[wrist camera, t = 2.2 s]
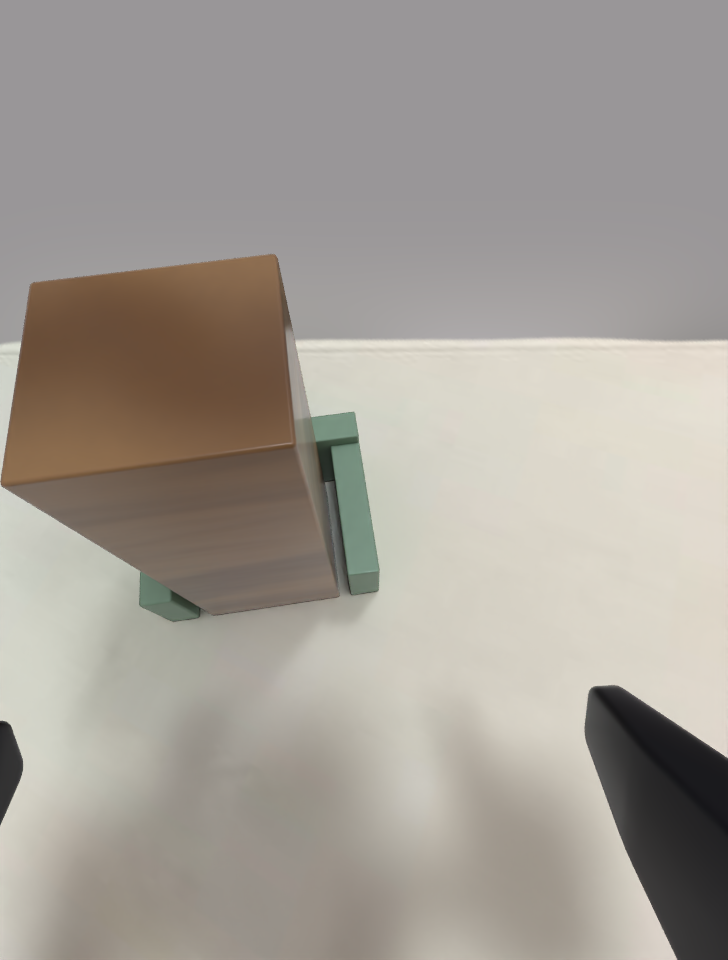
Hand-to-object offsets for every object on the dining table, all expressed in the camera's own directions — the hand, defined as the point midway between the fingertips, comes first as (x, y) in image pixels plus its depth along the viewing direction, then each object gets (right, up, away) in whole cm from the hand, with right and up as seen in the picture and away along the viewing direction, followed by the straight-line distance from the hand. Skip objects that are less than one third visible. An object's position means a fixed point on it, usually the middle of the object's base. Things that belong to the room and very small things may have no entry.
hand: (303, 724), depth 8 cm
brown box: (-3, +1, +15) cm, 16 cm away
